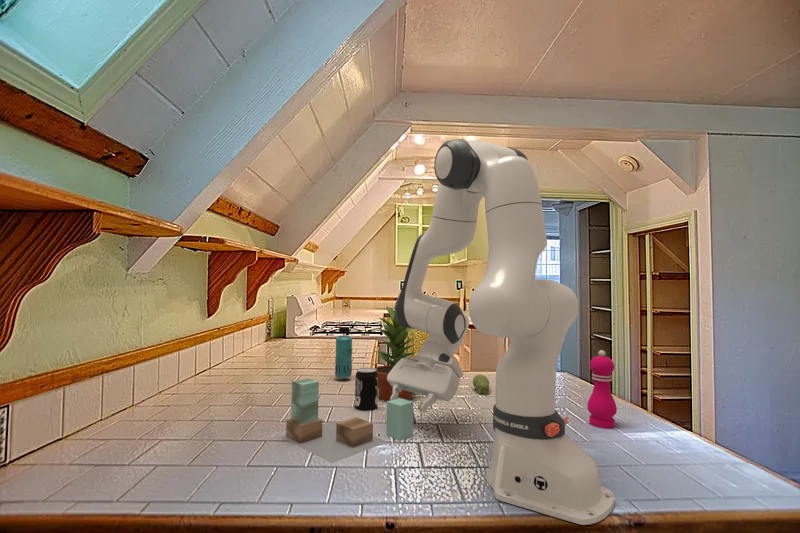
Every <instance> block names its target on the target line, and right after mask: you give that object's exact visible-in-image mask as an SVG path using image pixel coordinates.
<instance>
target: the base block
mask: <svg viewBox="0 0 800 533" xmlns="http://www.w3.org/2000/svg"><path fill="white" fill-rule="evenodd" d="M337 422H338V423H336V440H337V441H339V442H341V443H343V444H346V445H348V446H350V447H356V446H359V445H362V444H364V443H367V442H370V441H373V436H374V423H373V422H371V421H368V420H365V419H362V418H360V417H357V416H356V417H355V416H354V417H352V418H349V419H345V420H342V421H337Z"/></svg>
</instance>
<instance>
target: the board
mask: <svg viewBox="0 0 800 533" xmlns="http://www.w3.org/2000/svg"><path fill="white" fill-rule="evenodd" d="M338 422H339V421H336V420H332V421H329V422H326V423H322V437H320V438H317V439H314V440H311V441H308V442H304V443H301V444H300V443H298V442H296V441H294V440H292V439H290V438H288V437H286V434H284V435H282V436H280V438H281V439H284V440H285V441H288V442H290V443H292V444H294V445H296V446H298V447H300V448H302V449H304V450H305V451H308V452H310V453H311V454H313V455H315V456H317V457H319V458H322V459H324V460H326V461H327V462H330V463H332V464H333V463H336V462H339V461H341V460H344V459H347V458H349V457H351V456H354V455H357V454H359V453H363V452H365V451H368V450H371V449H373V448H375V447H378V446H381V445H384V444H386V443H388V440H385V439H382V438H379V437H376V436H374V435H373V441H370V442H367V443H364V444H362V445H359V446H356V447H350V446H348V445H346V444H343V443H341V442H339V441H337V440H336V423H338Z"/></svg>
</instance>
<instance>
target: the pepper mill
mask: <svg viewBox="0 0 800 533" xmlns="http://www.w3.org/2000/svg"><path fill="white" fill-rule="evenodd" d="M597 354H598V355H597V356H594V357H592V358H591V360H590V361H589V367H590V368H589V369H590V370H591V371H592V373H591V375H592V376H591V379H592V380H593V389H592V392H591V395H590V396H589V398H588V400H587V410H588V412H589V413H590V415H589V418H588V422H589V424H591V426H594V427H596V428H601V429H613V428H614V427H615V426H616V425H615V424H616V421H615V418H614V416H615V415H616V414H617V412H618V410H617V404H616V400H614V397H613V395H612V390H611V382H612V381H613V378H612V377H613V375H612V373H613V372H614V370H615V363H614V361H613V360H612V359H611V358H610V357H608V356H606V354H607V353H606V351H604V350H603V349H601V350H600V349H599V351H598V353H597Z"/></svg>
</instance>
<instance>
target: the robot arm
mask: <svg viewBox="0 0 800 533" xmlns="http://www.w3.org/2000/svg"><path fill="white" fill-rule="evenodd" d="M433 167H434V174H435V176H436V177H435V178H436V179H437V181H438V183H439V184H438V188H437V191H436V194H435V199H434V202H433V209H432V214H431V220H430V224H429V226H428V228H427V229H426V231H425V232H424V233H422V234H420V235H418V238H416V241H415V243H414V246H413V249H412V252H411V254H410V258H409V262H408V266H407V269H406V273H405V275H404V280H403V283H402V287H401V290H400V292H399V294H398V296H397V299H396V302H395V304H394V308H393V310H394V313H395V316H396V319H397V321H398V322H399V324H400V325H401V326H403V327H407V328H411V330H412V329H413V330H417V331H420V332H423V333H426V334H429V336H428V338H426V339H427V340H426V339H425V341H424V342H423V344H422V345H421V347H420V348H419V350H418V351H417V353H416V355H415V356H414V357H413V356H411V355H409V356H406V357H405V358H402V359H401V360H400V361H398V362H397V364H396V365H395V366H394V367H393V368H392V370H391V371H390V373H389V374H388V376H387V381H388V382H389V383H390V385H391V386H392V387H393V394H392V396H391V398H390V401H391V400H395V399H398V398H399V397H398V395H399V392H401V391H402V389H403V390H406V391H410V392H412V393H415V394H418V395H422V396H425V397H427V398H426V399H425V400H423V401H420V402H419V403H418V406H417V410H418V411H419V412H422V413H424V414H425V413H427V410H429V409H428V408H430V407H431V406H433V405H434V404H436V403H437V401H438V400H440V401H443V402H449V401H451V400H452V399H454V397H455V395H456V393H457V391H458V388H459V385H460V384H461V383H460V379H461V378H463V375H464V371H463V369H462V368H461V366H460V364H459V363H458V362H457V360H456V359H455V358H454V356H455V353H456V352H457V351H458V350H459V349H460V348H461V345H462V344H463V341H464V340H465V337H466V334H467V331H468V329H469V324H470V321H471V324H472V325H473V327H474V328H475V329H476V330H477V331H479V333H480V334H483V335H487V336H491V337H495V338H501V339H510V342H509V345H508V348H507V349H506V351H505V353H504V354H503V356H502V357H501V358H500V359H499V361H498V363H497V365H496V368H495V403H494V404H493V409H492V427H493V428H492V429H493V433H494V434H493V435H494V436H493V444H492V451H491V456H490V457H491V458H490V461H489V466H488V469H487V473H486V477H485V479H486V482H487V484H488V485H489V487H490V488H491V489H492V490H493V496H494V498H495V500H498V501H500V502H504V503H506V504H511V505H513V506H517V507H520V508H524V509H527V510H531V511H534V512H537V513H541V514H544V515H546V516H551V517H554V518H558V519H560V520H563V521H567V522H571V523H574V524H576V525H580V526H581V525H582V526H586V525H593V524H596V523H598V522H601V521H602V520H604V519H606V518H607V517H608V516H609V515H610V514H611V513H612V512H613V510H614V508H615V504H616V503H615V496H614V493H613V491H612V490H611V489H609V488H607V487H606V486H603V485H601V480H600V479H601V478H600V473H599V470H598V466H597V464H596V462H595V460H594V459H593V458H591V457H590V456H589V455H588V454H587V453H586V452H585V451H584V450H583V449H582V448H581V447H579V445H578V444H577V443H575V441H573V439H571V437H569V436H568V435H567V433H566V425H567V424H569V421H568V420H569V417H568V416H566V417H564V418H562V417H561V415H560V414H559V413H558V411H557V409H556V389H557V388H556V386H557V385H556V384H557V382H556V381H557V368H558V364H559V359H560V355H561V351H562V347H563V344H564V341H565V339H566V338H565V337H566V335H567V333H568V330H569V329H570V327H571V325H572V324H573V323H575V320H576V319H577V317H578V314H579V300H578V298H577V295H576V294H575V293H574V291H573V290H572V289H571V288H570V287H569V286H567V285H565V284H563V283H560V282H557V281H554V280H551V279H545V278H544V279H543V278H542V279H537V278H536V271H537V266H538V265H537V264H538V261H539V257H540V255H541V254H543V252H544V251H545V249H546V248H547V244H548V243H547V242H548V239H547V231H546V226H545V216H544V209H543V202H542V197H541V192H540V187H539V183H538V180H537V177H536V173H535V171H534V168H533V166H532V164H531V162H530V161H529V159H528V157H527V156H526V154H525V153H523V152H522V151H520V150H518V149H516V148H514V147H510V146H507V147H506V146H504V145H503V146H502V145H499V144H495V143H491V142H489V141H485V140H484V141H482V140H470V139H469V140H466V139H464V138H455V139H449V140H446V141H445V142H443V143H442V144H441V145H440V147H439V148H438V149H437V152H436V154H435V158H434V164H433ZM482 199H484V209H485V219H486V221H485V222H486V231H487V240H488V254H487V255H488V256H487V262H486V268H485V272H484V274H483V276H482V279H481V281H480V282H479V283H478V285H477V286H476V287H475V288H474V289H473V291H472V293H471V294H470V297H469V300H468V301H469V302H468V314H469V316H468V315H467V314H466V312H465V311H464V310H462V308H461V307H460V305H459V304H458V303H456V302H453V301H451V300H447V299H444V298H439V297H436V296H433V295H430V294H429V295H428V294H426V293H424V292H423V290H422V288H423V284H424V280H425V278H426V274H427V270H428V268H429V266H430V265H429V264H430V263H431V262H432V260H434V259H435V258H437V257H443V256H448V255H453V254H456V253H460V252H462V251H463V250H466V249H467V248H468V246H470V245H471V243H472V242H473V240H474V238H475V234H476V228H477V223H478V216H479V207H480V202H481V201H482ZM469 318H470V319H469Z"/></svg>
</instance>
